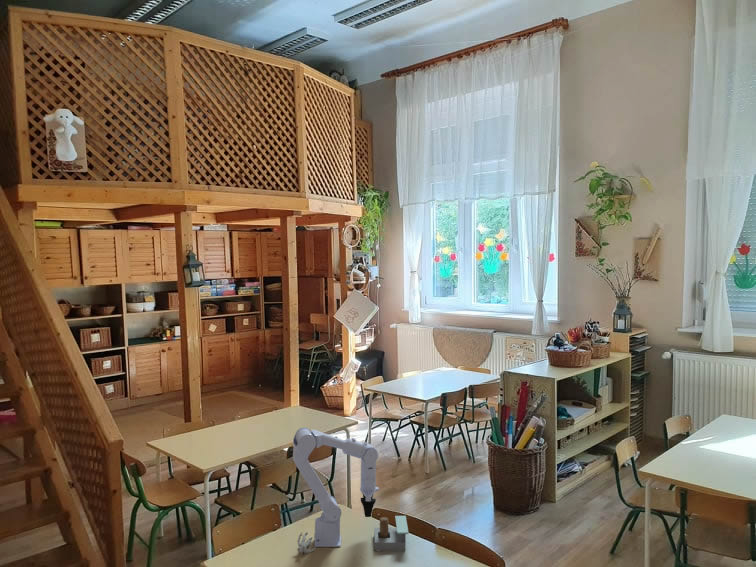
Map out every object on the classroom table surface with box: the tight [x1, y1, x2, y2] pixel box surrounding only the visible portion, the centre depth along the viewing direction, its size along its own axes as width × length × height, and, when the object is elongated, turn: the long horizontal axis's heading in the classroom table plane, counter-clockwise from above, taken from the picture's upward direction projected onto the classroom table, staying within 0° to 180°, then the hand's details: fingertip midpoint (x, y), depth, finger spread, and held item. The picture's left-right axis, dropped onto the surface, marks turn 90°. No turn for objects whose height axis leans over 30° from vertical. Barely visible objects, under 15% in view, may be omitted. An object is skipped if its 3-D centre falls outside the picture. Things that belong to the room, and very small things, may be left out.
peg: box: [379, 516, 389, 538], centre depth 203 cm, size 3×3×9 cm
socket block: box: [373, 515, 409, 552], centre depth 204 cm, size 12×13×7 cm
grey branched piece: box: [296, 531, 317, 555], centre depth 199 cm, size 8×5×12 cm
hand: (367, 511), depth 208 cm, fingers open, 7 cm apart
